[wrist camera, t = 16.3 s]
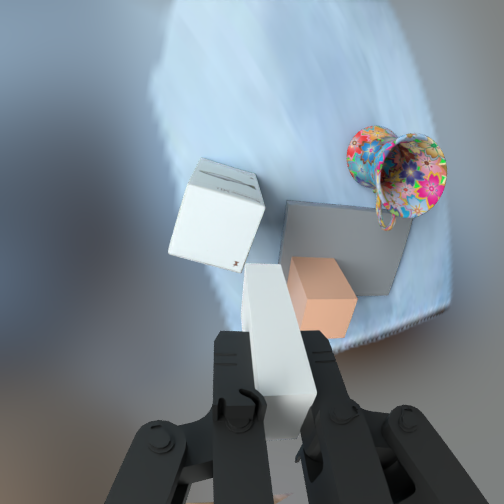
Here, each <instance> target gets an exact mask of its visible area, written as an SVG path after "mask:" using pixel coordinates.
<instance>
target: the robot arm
mask: <svg viewBox="0 0 504 504" xmlns="http://www.w3.org/2000/svg"><path fill="white" fill-rule="evenodd" d="M241 321H242V331H220V333H219V334H218V336H217V338H216V339H215V341H214V374H213V375H214V376H213V377H214V378H213V404H212V407H211V410H210V412H209V413H208V414H207V415H206V416H205V417H203V418H202V419H200V420H198V421H195V422H192V423H188V424H184V425H179V426H177V425H175V424H173V423H171V422H169V421H162V420H157V421H151V422H148V423H147V424H145V425H143V426H142V427H141V428H140V429H139V430H138V432H137V433H136V435H135V437H134V439H133V442H132V444H131V446H130V448H129V450H128V452H127V454H126V457H125V459H124V461H123V463H122V465H121V468H120V470H119V472H118V474H117V476H116V478H115V481H114V483H113V485H112V487H111V490H110V492H109V494H108V496H107V499H106V501H105V503H104V504H185V503H186V500H187V497H188V493H189V490H190V487H191V484H192V483H194V482H198V481H202V480H206V479H209V478H213V485H214V486H213V487H214V488H213V489H214V504H274V501H273V493H272V485H271V477H270V469H269V462H268V454H267V445H266V441H272V440H287V439H297V438H298V435H299V433H301V437H302V443H303V444H302V446H301V448H300V450H299V451H298V453H297V455H296V458H295V463H297V462H299V460H300V459H301V463H302V468H303V474H304V479H305V485H306V490H307V496H308V502H309V504H489V503H488V502H487V500H486V499H485V498H484V496H483V495H482V493H481V492H480V490H479V489H478V488H477V486H476V485H475V483H474V482H473V481H472V479H471V478H470V476H469V475H468V474H467V472H466V471H465V469H464V468H463V467H462V465H461V464H460V463H459V461H458V460H457V458H456V457H455V456H454V454H453V453H452V452H451V450H450V449H449V448H448V446H447V445H446V444H445V442H444V441H443V440H442V438H441V437H440V436H439V434H438V433H437V432H436V430H435V429H434V428H433V426H432V425H431V424H430V422H429V421H428V420H427V418H426V417H425V416H424V414H422V412H421V411H420V410H418V409H417V408H415V407H413V406H409V405H402V406H397V407H396V408H395V409H393V410H392V411H391V413H390V414H389V413H381V412H372V411H368V410H364V409H362V408H360V406H359V404H357V403H356V402H355V401H353V400H352V399H350V398H349V396H348V393H347V391H346V388H345V385H344V382H343V379H342V376H341V374H340V371H339V368H338V365H337V362H336V359H335V357H334V354H333V353H332V348H331V346H330V343H329V340H328V339H327V338H326V337H325V336H324V335H323V334H322V332H321V331H320V330H307V331H300V329H299V326H298V322H297V319H296V315H295V312H294V308H293V305H292V301H291V298H290V294H289V291H288V288H287V284H286V281H285V277H284V274H283V271H282V267H281V264H254V263H245V272H244V284H243V295H242V307H241Z"/></svg>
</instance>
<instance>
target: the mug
mask: <svg viewBox="0 0 504 504" xmlns="http://www.w3.org/2000/svg"><path fill="white" fill-rule="evenodd" d="M347 165H348V169H349V171H350V173H351V175H352V176H353V178H354V179H355V180H356V181H357V182H358V183H360V184H361V185H363V186H365V187H369V188H375V189H373V192H374V193H376V212H377V218H378V222H379V225H380V227H381V228H382V229H383V230H385V231H390V230H392V229H393V227H394V226H395V223H396V220H397V216H399V217H403V218H413V217H417V216H420V215H422V214H424V213H426V212H427V211H429V210H430V209H431V208H432V207H433V206H434V205H435V204H436V203H437V201H438V200H439V198H440V197H441V195H442V193H443V190H444V187H445V184H446V179H447V166H446V160H445V157H444V154H443V152H442V150H441V149H440V147H439V146H438V145H437V143H436V142H435V141H433V140H432V139H431V138H429V137H427V136H425V135H422V134H417V133H411V134H406V135H403V136H401V137H399V138H398V137H397V136H396V135H395V134H394V133H393V132H392V131H390V130H389V129H387V128H385V127H382V126H370V127H367V128H364V129H362V130H361V131H359V132H358V133H357V134H356V135H355V136H354V137H353V139H352V140H351V142H350V144H349V147H348V150H347ZM381 202H382V203H383V205H384V206H385V207H386V209H388V210H389V211H390V212H391V213H392V217H391V221H390V223H389V225H388V226H387V227H386V226H385V224H384V221H383V217H382V210H381Z"/></svg>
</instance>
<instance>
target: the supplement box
mask: <svg viewBox="0 0 504 504" xmlns="http://www.w3.org/2000/svg"><path fill="white" fill-rule="evenodd" d="M265 208H266V207H265V204H264V201H263V197H262V194H261V191H260V188H259V184H258V181H257V178H256V174H254V173H251V172H247V171H243V170H240V169H236V168H233V167H230V166H227V165H223V164H220V163H217V162H214V161H211V160H208V159H205V158H202V157H201V158H200V159H199V161H198V164H197V166H196V168H195V170H194V172H193V174H192V176H191V178H190V180H189V182H188V184H187V187H186V190H185V193H184V197H183V200H182V203H181V206H180V210H179V213H178V217H177V220H176V224H175V227H174V231H173V235H172V238H171V242H170V246H169V249H168V253H169V254H170V255H174V256H177V257H181V258H185V259H189V260H192V261H196V262H200V263H203V264H206V265H211V266H215V267H219V268H222V269H226V270H230V271H234V272H237V273H242V270H243V267H244V264H245V262H246V259H247V256H248V254H249V251H250V248H251V245H252V242H253V240H254V237H255V234H256V232H257V229H258V226H259V224H260V221H261V219H262V216H263V213H264V211H265Z"/></svg>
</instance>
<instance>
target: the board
mask: <svg viewBox="0 0 504 504" xmlns="http://www.w3.org/2000/svg"><path fill="white" fill-rule="evenodd" d="M381 210H382V217H383V221H384V224H385V226H386V227H387V226H388V225H389V223H390V221H391V217H392V213H391V212H390V211H389V210H384V209H381ZM412 220H413V218H403V217H399V216H397V220H396V223H395V226H394V227H393V229H392V230H390V231H385V230H383V229H382V228H381V227H380V225H379V222H378V218H377V212H376V209H375V208H366V207H356V206H346V205H336V204H325V203H313V202H301V201H287V203H286V211H285V218H284V226H283V233H282V240H281V247H280V254H279V261H278V264H281V267H282V271H283V274H284V277H285V281H286V284H287V281H288V276H289V270H290V264H291V258H292V257H315V258H334V259H335V261H336V262H337V264H338V266H339V267H340V269H341V271H342V272H343V274H344V276H345V278H346V279H347V281H348V283H349V284H350V286H351V288H352V290H353V291H354V293H355V295H356V296H381V295H388V294H389V291H390V289H391V286H392V283H393V280H394V277H395V275H396V272H397V269H398V266H399V263H400V260H401V257H402V254H403V250H404V247H405V244H406V241H407V237H408V234H409V231H410V227H411V224H412Z"/></svg>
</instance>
